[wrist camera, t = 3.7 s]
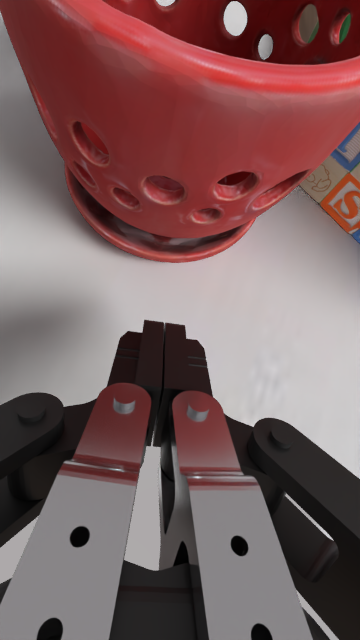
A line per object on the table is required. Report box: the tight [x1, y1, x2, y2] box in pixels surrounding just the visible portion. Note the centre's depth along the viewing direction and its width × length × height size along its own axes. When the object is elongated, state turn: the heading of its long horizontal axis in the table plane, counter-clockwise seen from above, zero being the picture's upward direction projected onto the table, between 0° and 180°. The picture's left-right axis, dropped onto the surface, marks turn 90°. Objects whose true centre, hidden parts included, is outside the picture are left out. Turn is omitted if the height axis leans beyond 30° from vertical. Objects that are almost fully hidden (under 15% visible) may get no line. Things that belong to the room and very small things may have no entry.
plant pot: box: [0, 0, 360, 263], centre depth 13 cm, size 13×13×12 cm
